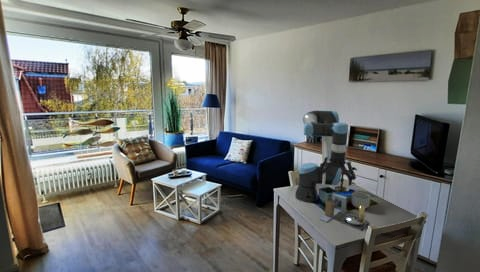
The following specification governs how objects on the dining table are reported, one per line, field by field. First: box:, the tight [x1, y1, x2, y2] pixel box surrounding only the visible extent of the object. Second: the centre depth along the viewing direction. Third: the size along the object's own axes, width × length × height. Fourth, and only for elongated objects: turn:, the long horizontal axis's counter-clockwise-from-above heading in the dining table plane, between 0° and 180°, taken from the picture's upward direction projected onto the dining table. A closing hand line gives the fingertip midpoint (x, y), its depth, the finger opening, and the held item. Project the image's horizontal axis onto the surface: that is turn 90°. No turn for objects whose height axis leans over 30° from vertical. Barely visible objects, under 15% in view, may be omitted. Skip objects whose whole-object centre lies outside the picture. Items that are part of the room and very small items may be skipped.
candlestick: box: [334, 150, 350, 193], centre depth 181 cm, size 11×11×35 cm
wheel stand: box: [339, 217, 369, 231], centre depth 140 cm, size 11×11×1 cm
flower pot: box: [318, 186, 339, 205], centre depth 163 cm, size 9×9×9 cm
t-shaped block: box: [319, 193, 348, 223], centre depth 148 cm, size 22×9×9 cm, turn 135°
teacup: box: [351, 190, 371, 210], centre depth 159 cm, size 14×11×8 cm
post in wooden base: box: [324, 199, 342, 217], centre depth 150 cm, size 18×4×9 cm, turn 135°
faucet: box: [344, 205, 366, 225], centre depth 138 cm, size 10×10×11 cm
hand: (335, 187), depth 142 cm, fingers open, 13 cm apart
